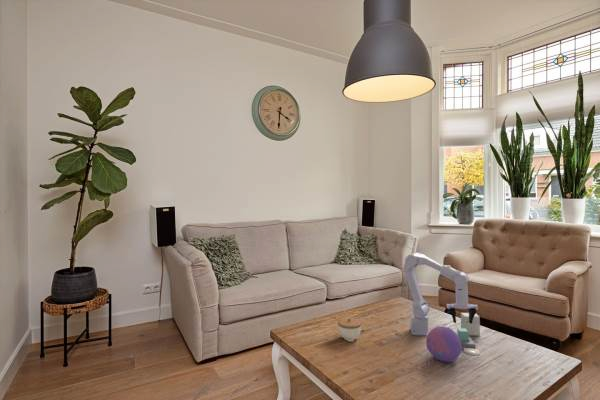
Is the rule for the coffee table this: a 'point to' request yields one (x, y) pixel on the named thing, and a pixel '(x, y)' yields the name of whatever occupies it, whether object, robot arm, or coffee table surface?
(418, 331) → the robot arm
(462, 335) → the peg
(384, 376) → the coffee table surface
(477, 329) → the small box
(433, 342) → the decorative ball
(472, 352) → the coaster
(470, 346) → the pocket board
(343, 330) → the lidded bowl
